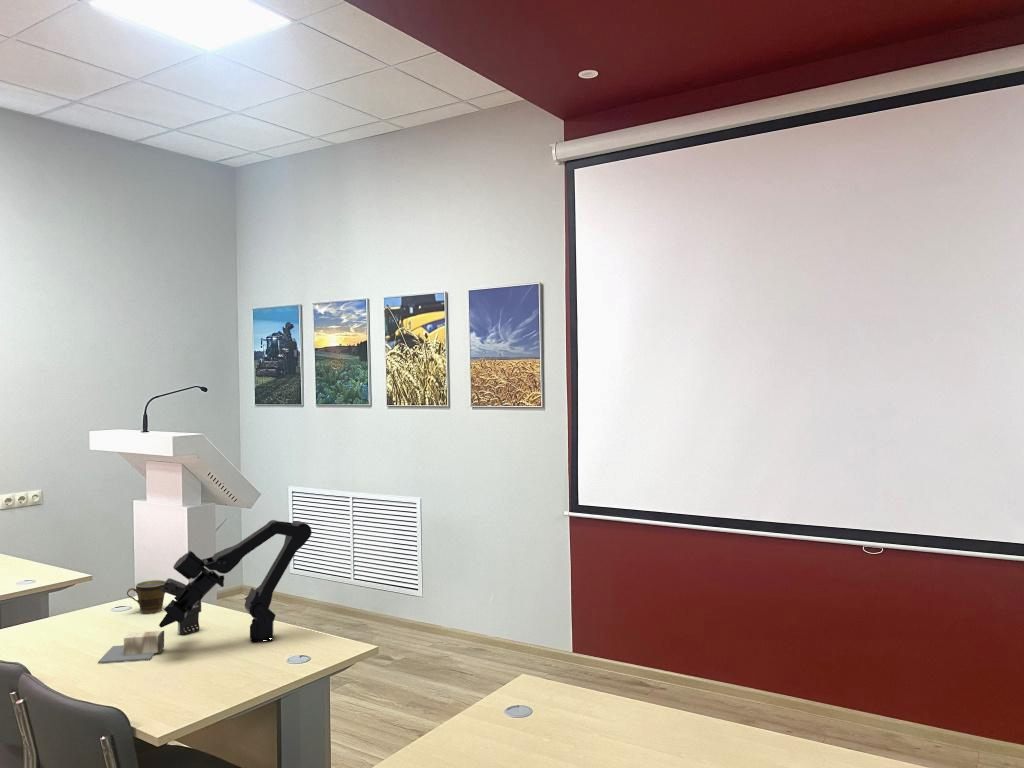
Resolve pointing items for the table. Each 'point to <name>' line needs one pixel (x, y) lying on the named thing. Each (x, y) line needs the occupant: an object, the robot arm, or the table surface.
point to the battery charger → (190, 620)
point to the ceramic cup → (149, 596)
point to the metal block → (143, 642)
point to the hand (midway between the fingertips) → (160, 626)
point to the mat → (122, 655)
